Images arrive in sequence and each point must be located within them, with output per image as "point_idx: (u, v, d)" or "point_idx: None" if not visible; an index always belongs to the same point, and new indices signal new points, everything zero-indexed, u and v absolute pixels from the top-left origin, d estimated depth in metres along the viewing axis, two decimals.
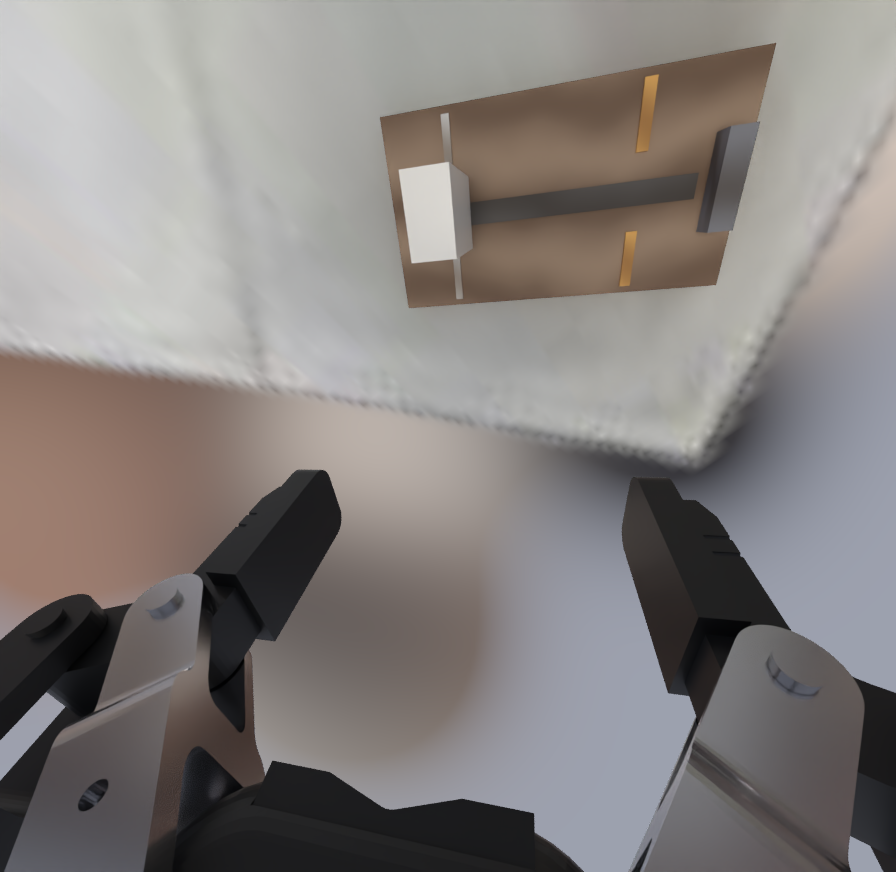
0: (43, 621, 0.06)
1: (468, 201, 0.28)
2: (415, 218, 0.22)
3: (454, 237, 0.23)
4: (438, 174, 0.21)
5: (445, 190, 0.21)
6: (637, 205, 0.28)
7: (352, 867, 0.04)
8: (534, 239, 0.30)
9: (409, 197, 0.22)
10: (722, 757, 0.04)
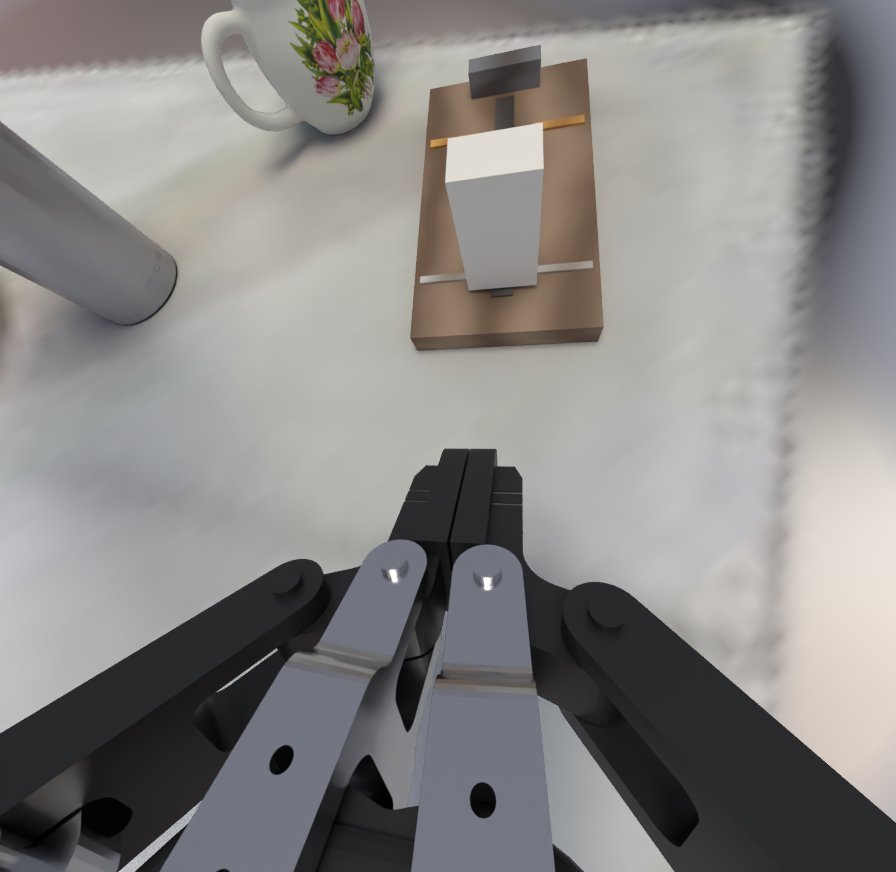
0: (285, 583, 0.06)
1: None
2: (493, 166, 0.19)
3: (518, 128, 0.19)
4: (456, 146, 0.19)
5: (471, 139, 0.19)
6: None
7: (352, 867, 0.04)
8: None
9: (472, 172, 0.19)
10: (460, 664, 0.05)
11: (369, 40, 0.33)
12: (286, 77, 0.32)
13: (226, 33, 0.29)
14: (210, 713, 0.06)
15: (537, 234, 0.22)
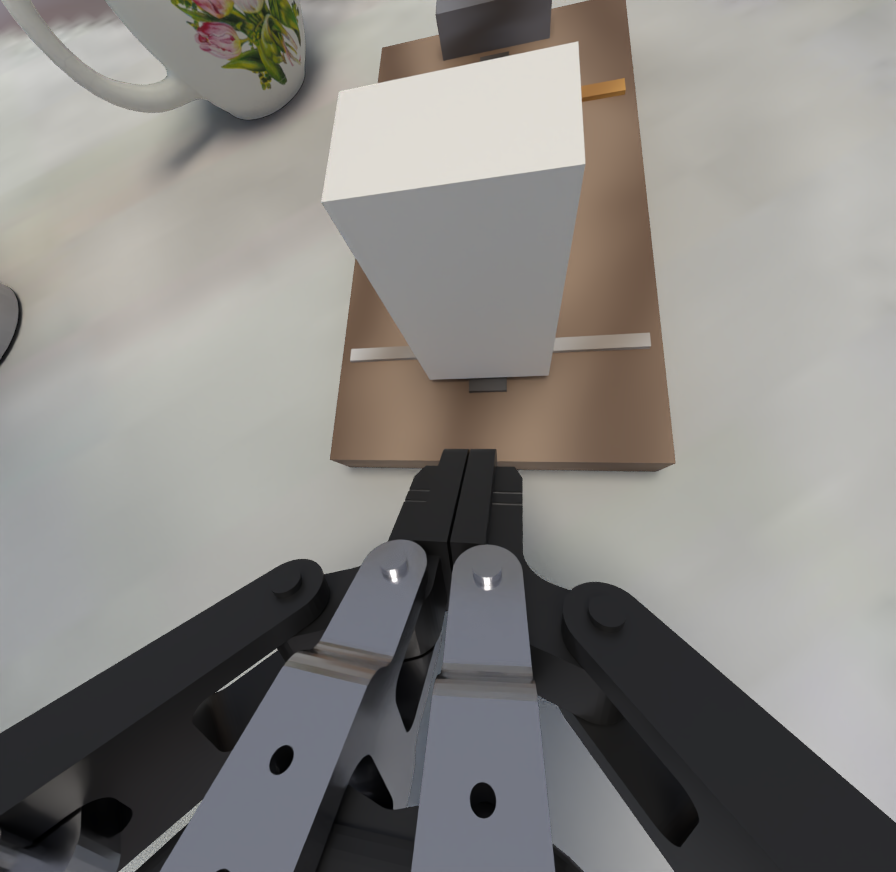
0: (284, 583, 0.06)
1: None
2: (445, 158, 0.07)
3: (514, 61, 0.07)
4: (357, 109, 0.08)
5: (395, 91, 0.08)
6: None
7: (352, 867, 0.04)
8: None
9: (390, 174, 0.07)
10: (460, 664, 0.05)
11: None
12: (147, 23, 0.20)
13: None
14: (210, 713, 0.06)
15: (555, 306, 0.10)
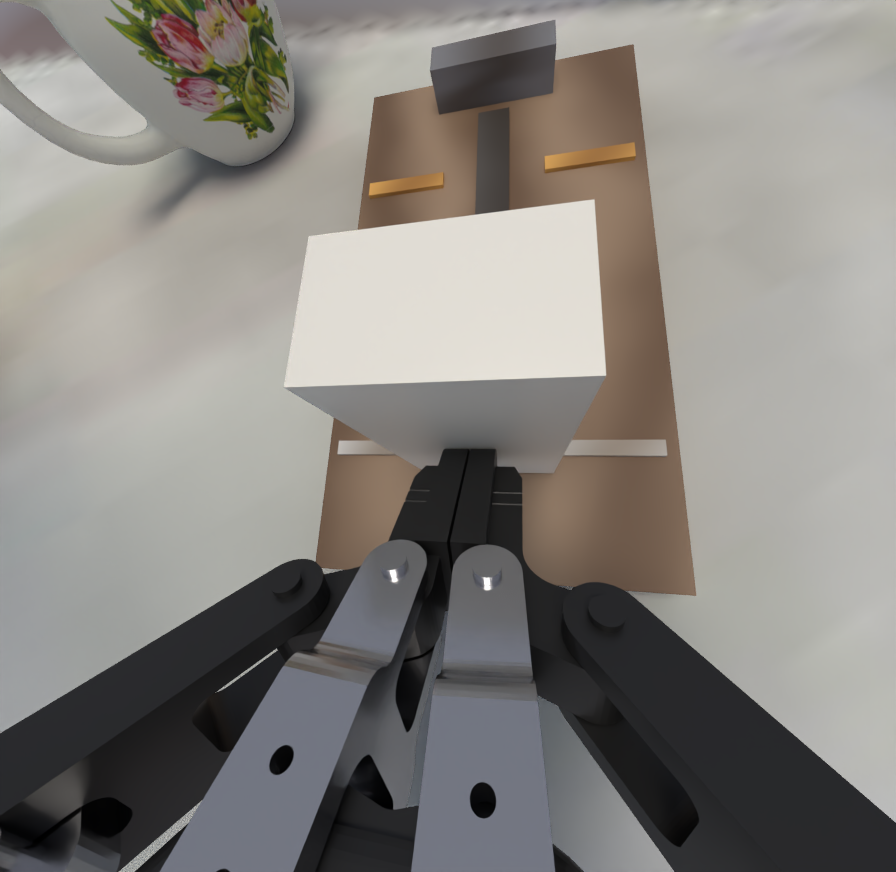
0: (284, 583, 0.06)
1: None
2: (433, 344, 0.06)
3: (516, 215, 0.06)
4: (329, 263, 0.06)
5: (374, 243, 0.06)
6: (508, 167, 0.18)
7: (352, 866, 0.04)
8: None
9: (367, 359, 0.06)
10: (460, 664, 0.05)
11: (269, 17, 0.20)
12: (122, 79, 0.19)
13: None
14: (210, 713, 0.06)
15: (564, 444, 0.09)
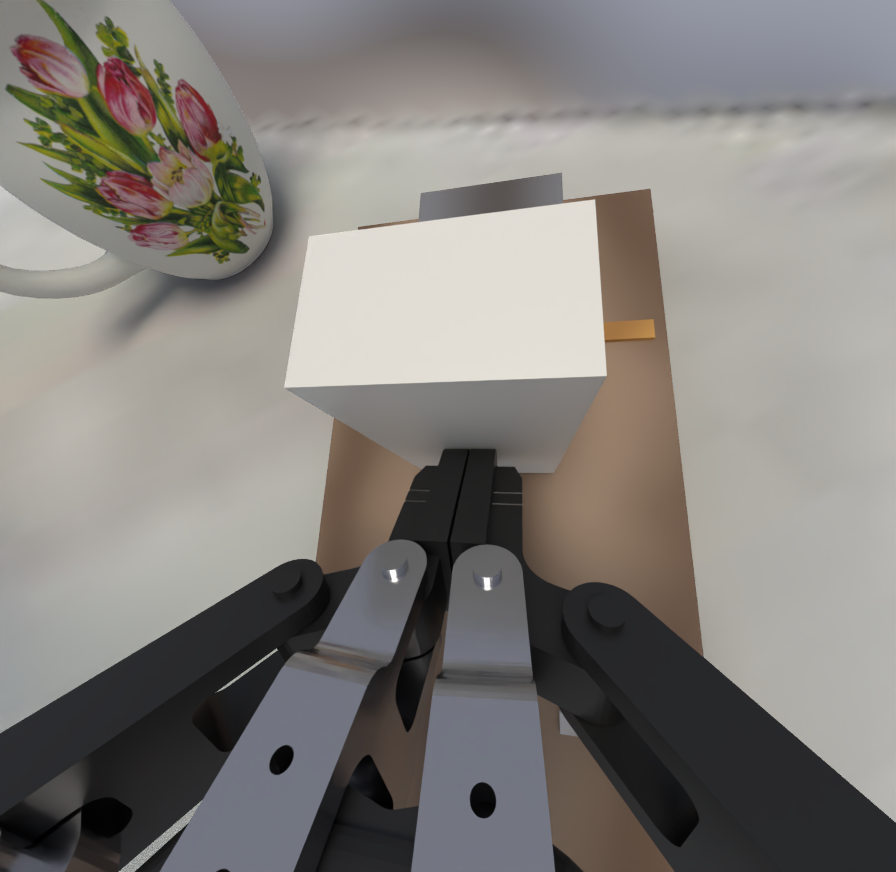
0: (284, 583, 0.06)
1: None
2: (433, 344, 0.06)
3: (517, 215, 0.06)
4: (329, 263, 0.06)
5: (375, 243, 0.06)
6: None
7: (352, 867, 0.04)
8: (549, 515, 0.14)
9: (367, 359, 0.06)
10: (460, 664, 0.05)
11: (238, 147, 0.18)
12: (69, 226, 0.16)
13: None
14: (210, 713, 0.06)
15: (564, 444, 0.09)
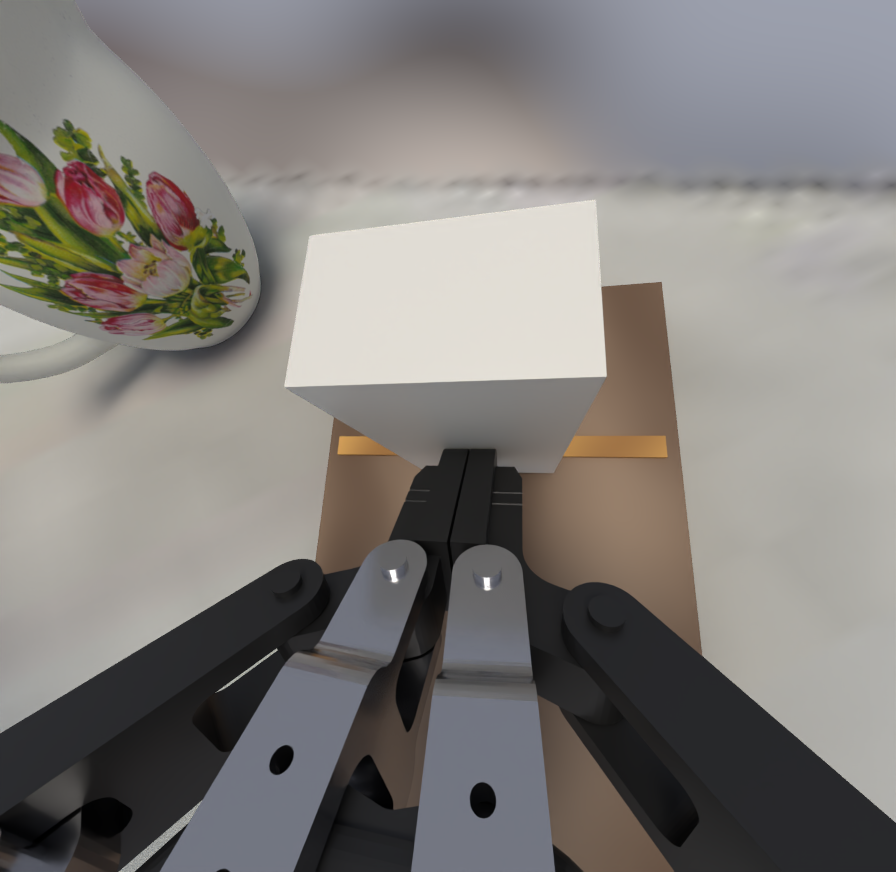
0: (285, 583, 0.06)
1: None
2: (433, 344, 0.06)
3: (517, 215, 0.06)
4: (330, 263, 0.06)
5: (375, 243, 0.06)
6: None
7: (352, 867, 0.04)
8: None
9: (367, 359, 0.06)
10: (460, 664, 0.05)
11: (218, 228, 0.16)
12: (35, 318, 0.15)
13: None
14: (210, 713, 0.06)
15: (564, 444, 0.09)
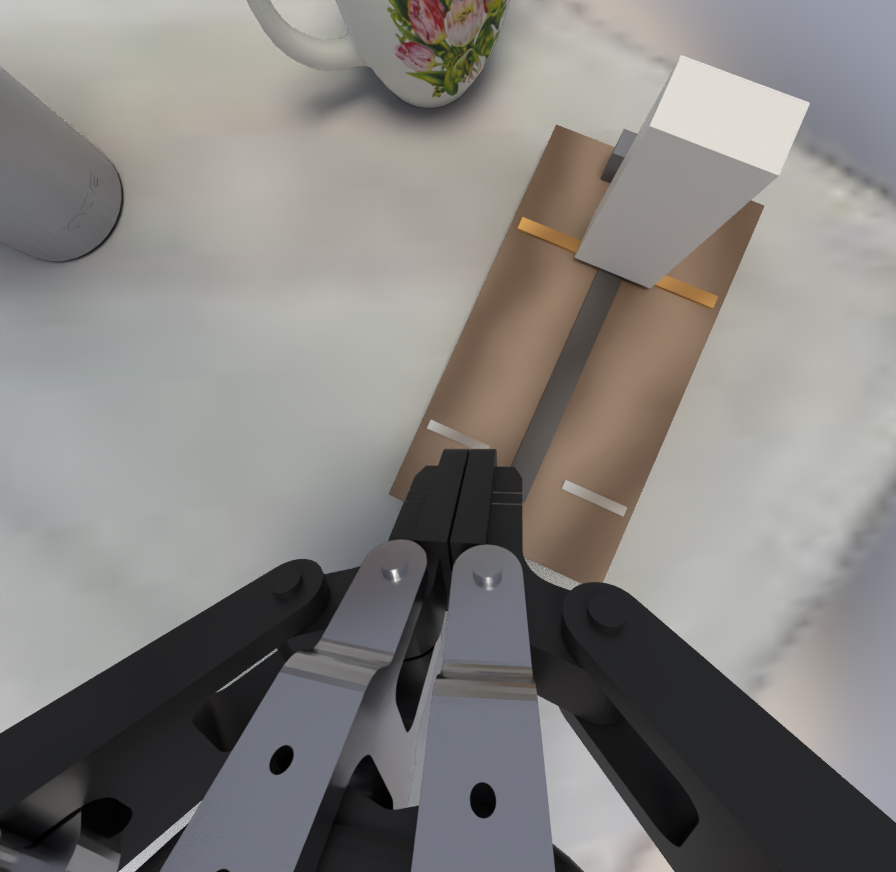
0: (284, 583, 0.06)
1: None
2: (720, 135, 0.13)
3: (776, 94, 0.13)
4: (687, 75, 0.14)
5: (711, 75, 0.13)
6: None
7: (352, 867, 0.04)
8: (603, 385, 0.22)
9: (690, 129, 0.13)
10: (460, 664, 0.05)
11: (505, 5, 0.21)
12: (356, 11, 0.19)
13: None
14: (210, 713, 0.06)
15: (699, 241, 0.17)
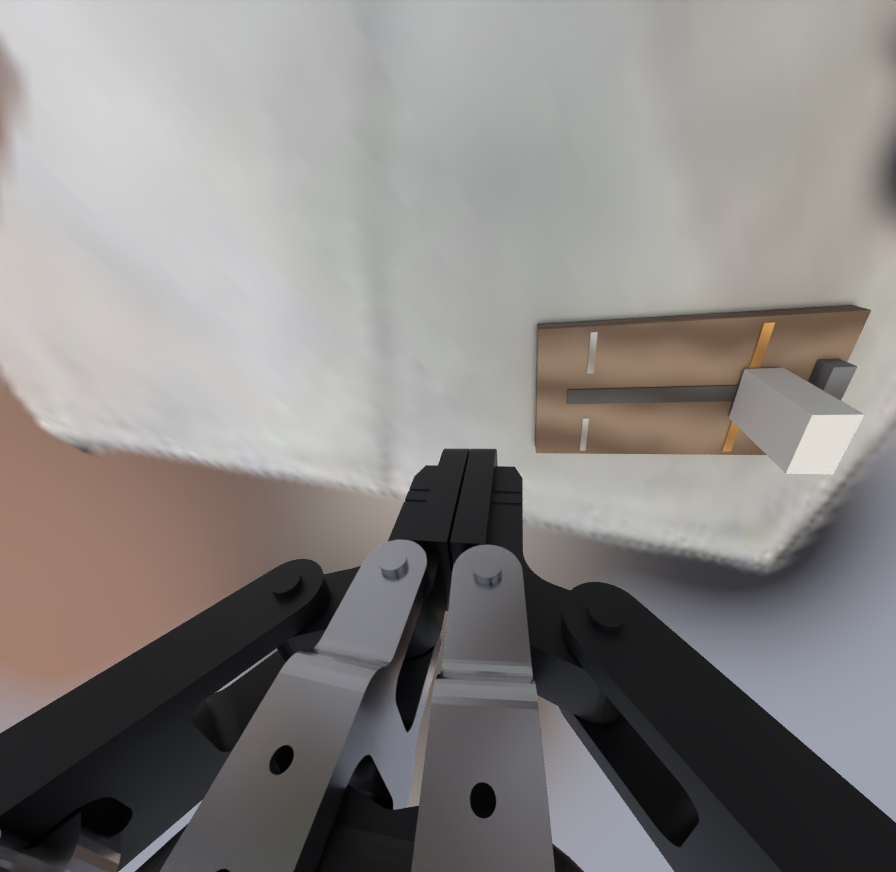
0: (284, 583, 0.06)
1: None
2: (808, 445, 0.26)
3: (838, 460, 0.26)
4: (849, 421, 0.25)
5: (849, 431, 0.25)
6: None
7: (352, 867, 0.04)
8: (654, 415, 0.37)
9: (811, 432, 0.26)
10: (460, 664, 0.05)
11: None
12: None
13: None
14: (210, 713, 0.06)
15: (756, 443, 0.31)
